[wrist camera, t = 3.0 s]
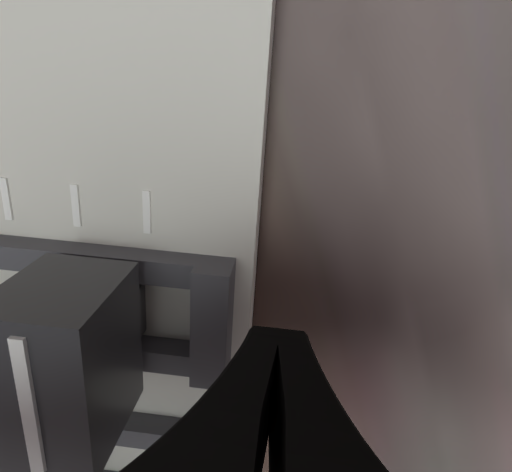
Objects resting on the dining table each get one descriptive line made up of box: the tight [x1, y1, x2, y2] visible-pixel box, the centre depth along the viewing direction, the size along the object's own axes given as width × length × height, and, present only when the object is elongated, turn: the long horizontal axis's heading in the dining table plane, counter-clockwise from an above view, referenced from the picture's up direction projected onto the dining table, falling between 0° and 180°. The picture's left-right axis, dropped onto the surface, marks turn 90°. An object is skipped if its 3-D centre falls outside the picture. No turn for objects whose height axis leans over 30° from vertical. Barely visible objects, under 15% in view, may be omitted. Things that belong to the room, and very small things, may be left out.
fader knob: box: [0, 253, 146, 472], centre depth 10 cm, size 2×4×4 cm, turn 176°
